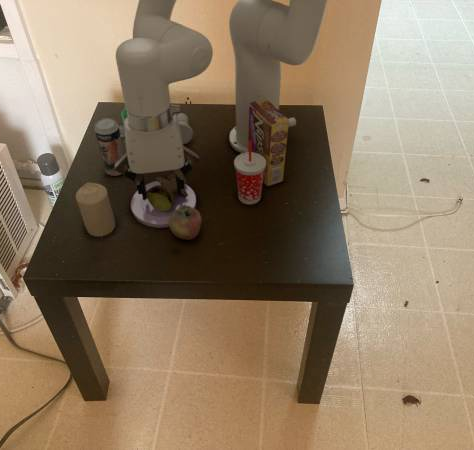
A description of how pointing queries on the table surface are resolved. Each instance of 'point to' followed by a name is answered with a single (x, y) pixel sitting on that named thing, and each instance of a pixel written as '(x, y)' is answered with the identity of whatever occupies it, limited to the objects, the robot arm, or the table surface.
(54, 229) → the table surface
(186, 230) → the apple
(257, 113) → the candy box
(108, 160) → the canister with white lid
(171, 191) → the toy
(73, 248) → the table surface
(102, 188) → the candle
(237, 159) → the beverage cup
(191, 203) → the dish
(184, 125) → the chess piece
